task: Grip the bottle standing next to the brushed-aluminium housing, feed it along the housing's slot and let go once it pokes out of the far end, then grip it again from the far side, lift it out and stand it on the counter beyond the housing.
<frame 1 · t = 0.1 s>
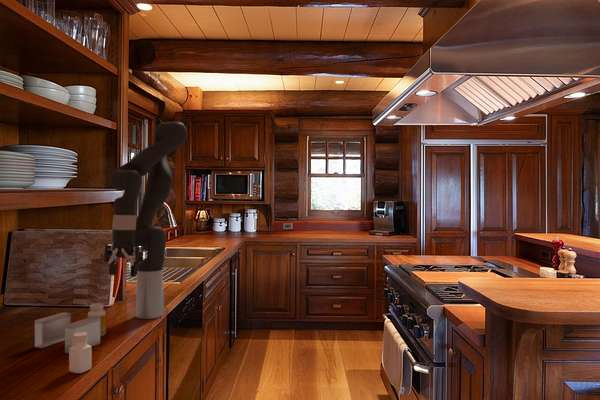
hand: (122, 275, 155), 17 cm above the counter, tool pointing down, fingers open, 8 cm apart
housing: (67, 344, 136), on the counter
supplement bottle: (96, 335, 146), on the counter
pepper shaker: (80, 371, 117), on the counter
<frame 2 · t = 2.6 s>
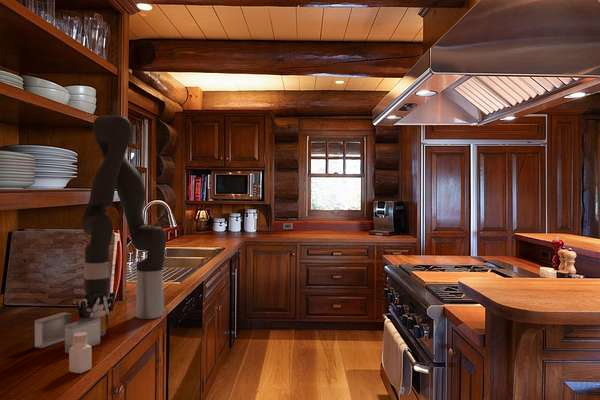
hand: (96, 328, 146), 2 cm above the counter, tool pointing down, fingers closed on supplement bottle, 5 cm apart
supplement bottle: (96, 335, 146), on the counter, touching gripper
everything else where it was.
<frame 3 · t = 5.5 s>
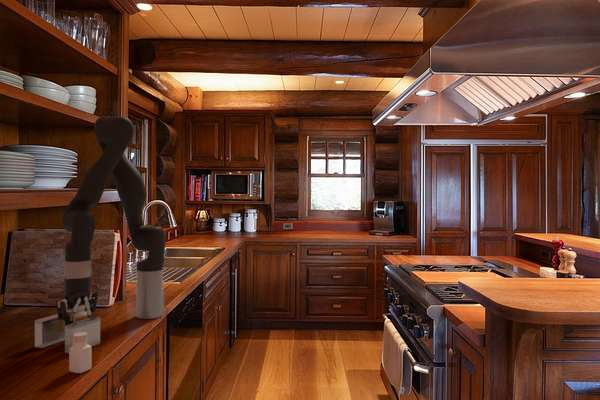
hand: (77, 329, 139), 4 cm above the counter, tool pointing down, fingers closed on supplement bottle, 5 cm apart
supplement bottle: (77, 337, 139), point 1 cm above the counter, touching gripper
everything else where it was.
when the fingers open (3 cm above the counter, at t = 8.2 s): supplement bottle drops 1 cm, on the counter.
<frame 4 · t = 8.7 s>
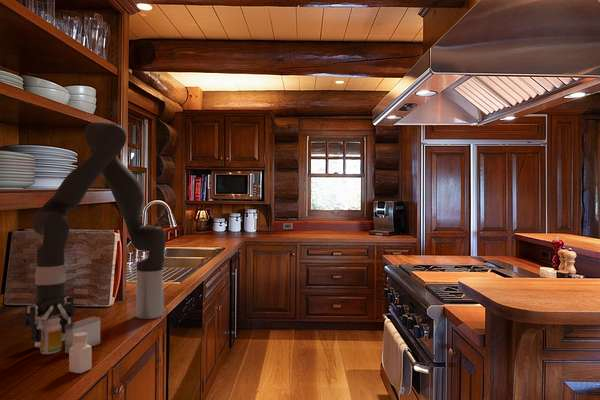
hand: (50, 337, 130), 4 cm above the counter, tool pointing down, fingers open, 8 cm apart
supplement bottle: (51, 352, 131), on the counter
everything else where it was.
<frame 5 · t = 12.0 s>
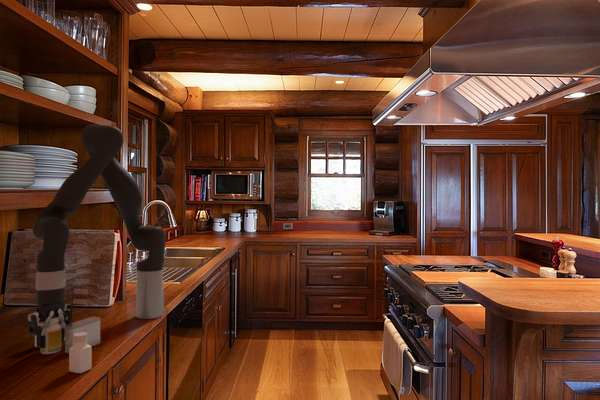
hand: (50, 344, 131), 2 cm above the counter, tool pointing down, fingers closed on supplement bottle, 5 cm apart
supplement bottle: (50, 351, 131), on the counter, touching gripper
everything else where it was.
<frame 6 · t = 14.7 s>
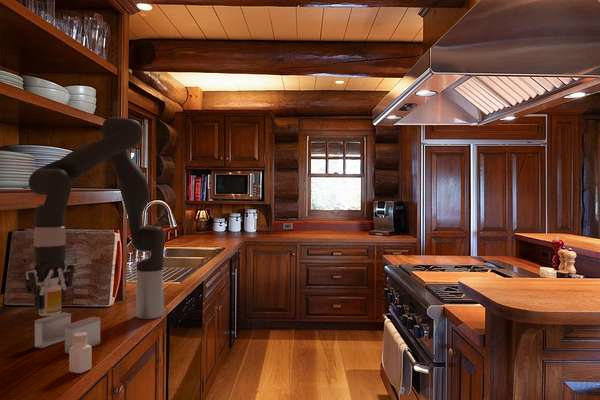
hand: (50, 306, 122), 15 cm above the counter, tool pointing down, fingers closed on supplement bottle, 5 cm apart
supplement bottle: (50, 314, 122), point 13 cm above the counter, touching gripper
everything else where it was.
when the fingers open (3 cm above the counter, at t = 17.3 s): supplement bottle drops 1 cm, on the counter.
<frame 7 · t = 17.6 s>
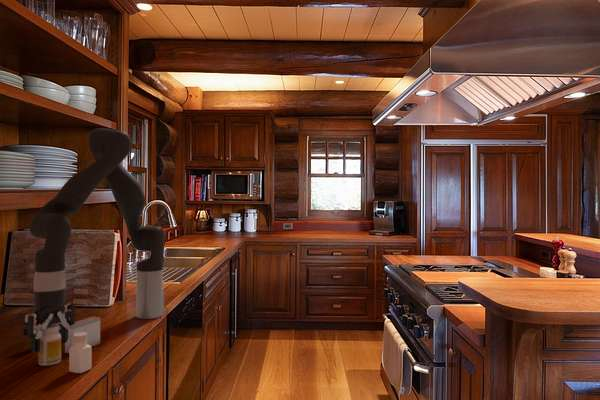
hand: (49, 347, 122), 4 cm above the counter, tool pointing down, fingers open, 8 cm apart
supplement bottle: (49, 363, 122), on the counter
everything else where it was.
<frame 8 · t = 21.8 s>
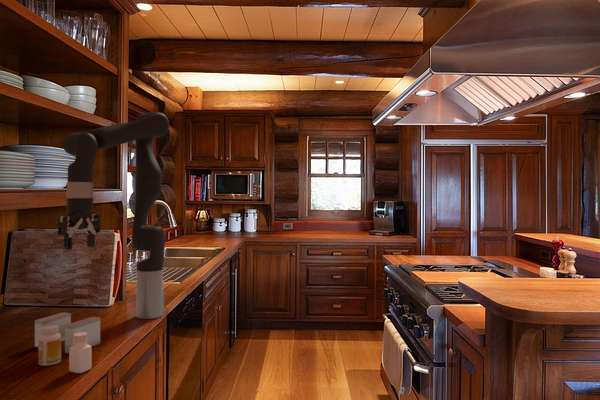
hand: (79, 248, 143), 28 cm above the counter, tool pointing down, fingers open, 8 cm apart
nothing on the counter moved.
at the end: supplement bottle inside the target area (0.1 cm from its centre), on the counter; supplement bottle tilted 0°; the gripper is holding nothing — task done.
